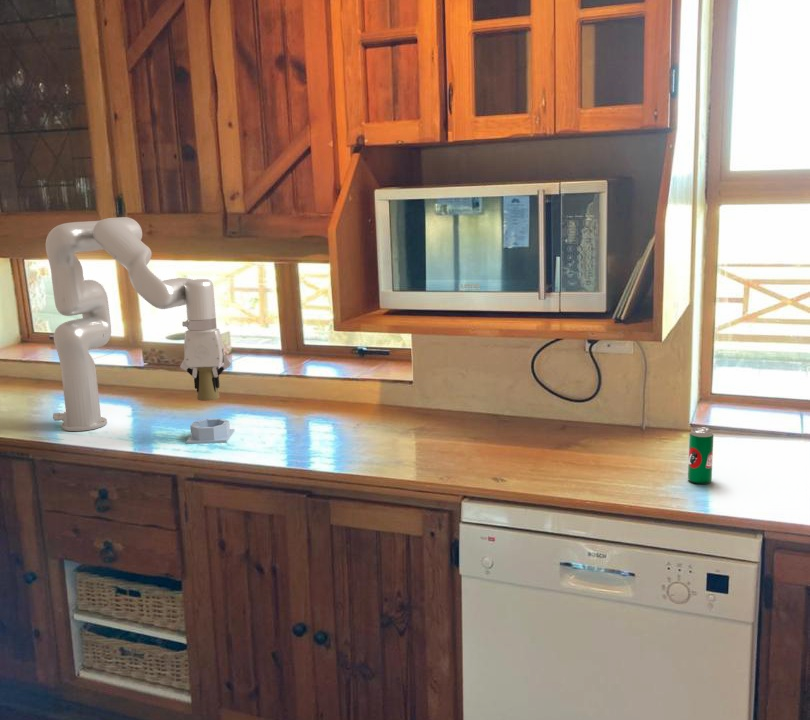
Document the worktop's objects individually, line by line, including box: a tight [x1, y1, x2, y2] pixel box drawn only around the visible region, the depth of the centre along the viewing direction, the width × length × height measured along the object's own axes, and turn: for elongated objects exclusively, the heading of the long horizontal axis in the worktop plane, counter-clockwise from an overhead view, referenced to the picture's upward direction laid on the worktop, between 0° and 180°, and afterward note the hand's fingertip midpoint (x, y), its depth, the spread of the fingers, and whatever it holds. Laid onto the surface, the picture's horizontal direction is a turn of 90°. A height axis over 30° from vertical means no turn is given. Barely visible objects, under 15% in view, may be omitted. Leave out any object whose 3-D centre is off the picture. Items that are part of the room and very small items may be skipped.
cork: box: [196, 367, 221, 402], centre depth 235 cm, size 6×6×11 cm
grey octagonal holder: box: [185, 418, 235, 445], centre depth 238 cm, size 11×11×4 cm
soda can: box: [687, 426, 714, 485], centre depth 191 cm, size 5×5×12 cm
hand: (207, 390), depth 236 cm, fingers closed on cork, 3 cm apart
